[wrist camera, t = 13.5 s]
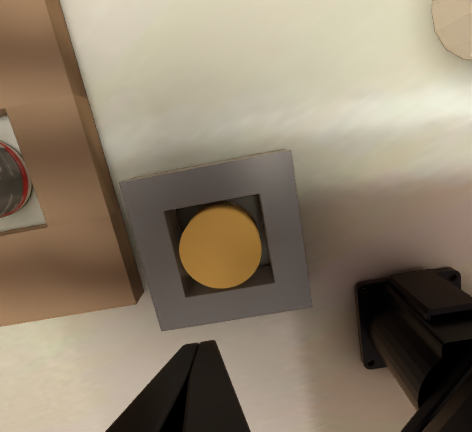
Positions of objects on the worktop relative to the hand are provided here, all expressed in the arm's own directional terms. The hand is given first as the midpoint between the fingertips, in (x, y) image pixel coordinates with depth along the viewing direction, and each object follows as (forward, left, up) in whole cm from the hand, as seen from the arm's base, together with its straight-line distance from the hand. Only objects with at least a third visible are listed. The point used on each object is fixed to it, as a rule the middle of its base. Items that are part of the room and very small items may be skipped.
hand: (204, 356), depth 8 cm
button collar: (0, 0, -11) cm, 11 cm away
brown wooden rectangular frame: (+6, +13, -11) cm, 18 cm away
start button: (0, 0, -11) cm, 11 cm away
